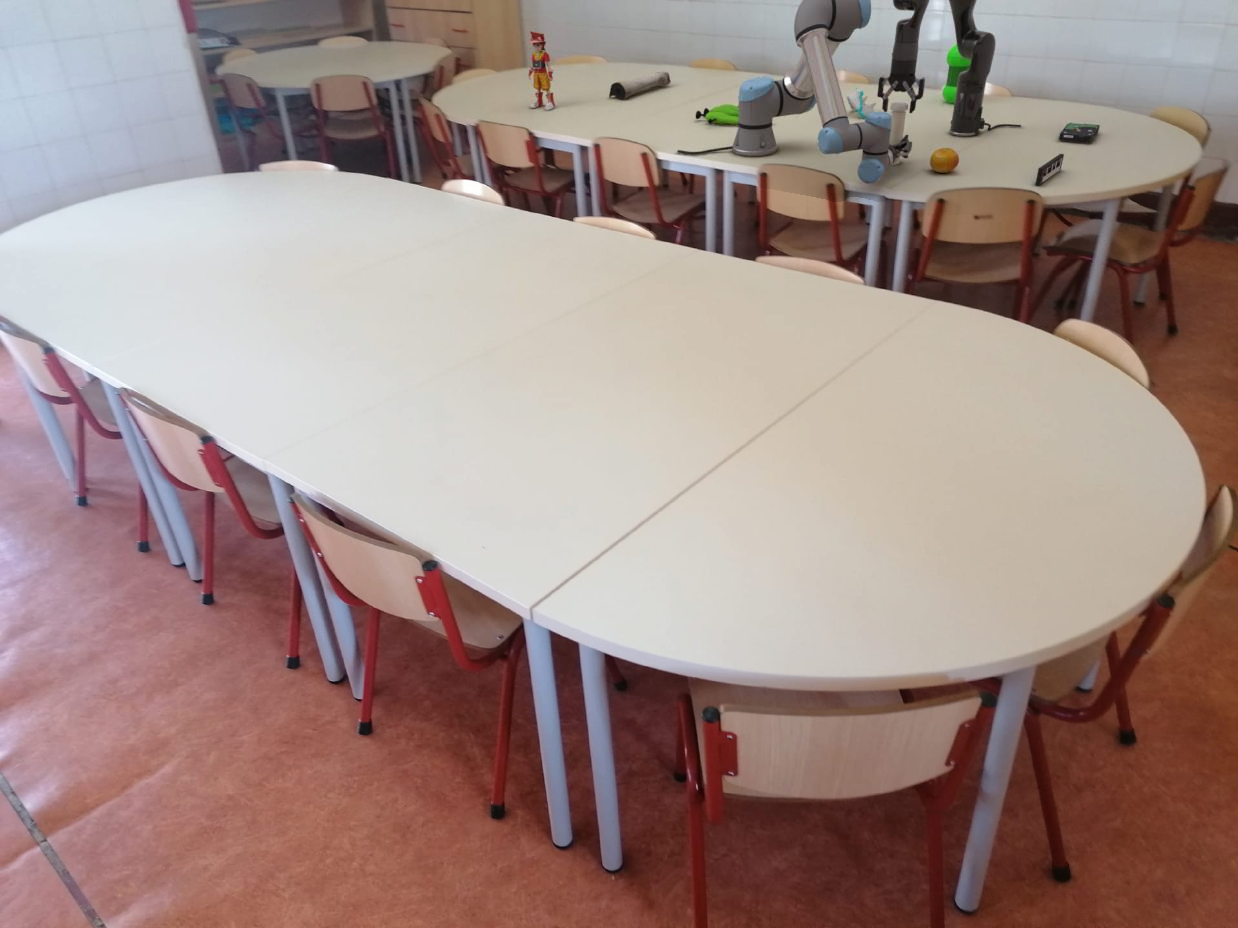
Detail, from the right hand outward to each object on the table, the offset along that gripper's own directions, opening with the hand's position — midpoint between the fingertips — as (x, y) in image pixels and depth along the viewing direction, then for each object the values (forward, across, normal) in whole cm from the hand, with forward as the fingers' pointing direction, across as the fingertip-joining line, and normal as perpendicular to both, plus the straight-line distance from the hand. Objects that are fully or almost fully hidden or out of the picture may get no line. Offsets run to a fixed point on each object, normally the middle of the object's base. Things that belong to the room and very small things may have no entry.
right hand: (898, 112), depth 286 cm
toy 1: (+16, +156, -36) cm, 161 cm away
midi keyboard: (+16, -48, +2) cm, 51 cm away
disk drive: (+16, -53, -46) cm, 72 cm away
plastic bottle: (+16, -5, -85) cm, 87 cm away
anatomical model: (+16, +25, -58) cm, 65 cm away
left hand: (+10, 0, -5) cm, 11 cm away
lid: (-2, 0, 0) cm, 2 cm away
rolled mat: (+16, +126, -71) cm, 146 cm away
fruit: (+16, -17, +5) cm, 24 cm away
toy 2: (+16, +68, -36) cm, 78 cm away
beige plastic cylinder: (+16, 0, 0) cm, 16 cm away
